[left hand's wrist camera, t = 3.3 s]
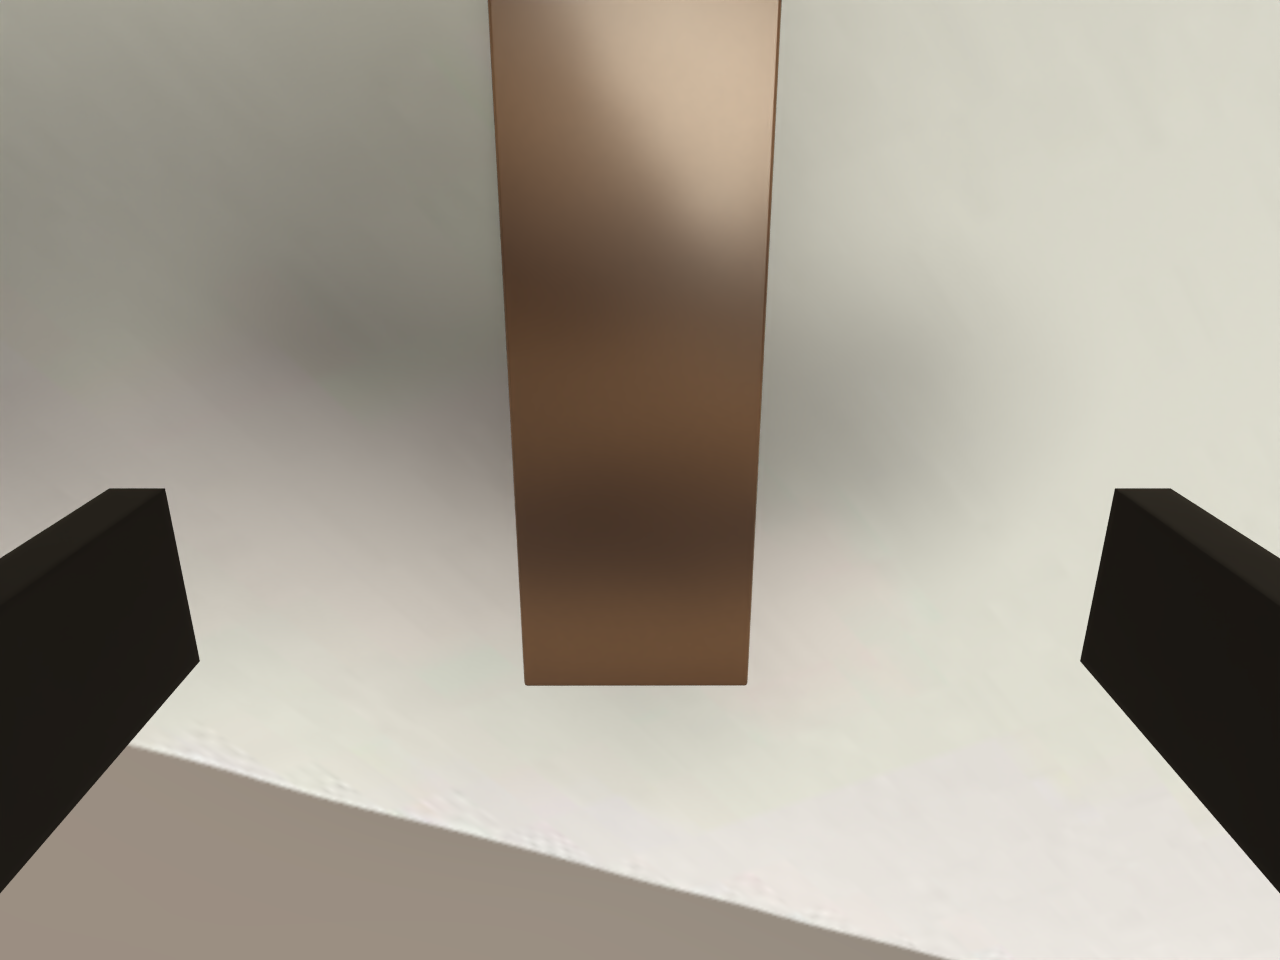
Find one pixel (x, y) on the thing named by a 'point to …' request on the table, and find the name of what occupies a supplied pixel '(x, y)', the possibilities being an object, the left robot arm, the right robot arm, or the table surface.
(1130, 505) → the left robot arm
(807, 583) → the table surface
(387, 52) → the table surface
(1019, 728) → the table surface
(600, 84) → the post
